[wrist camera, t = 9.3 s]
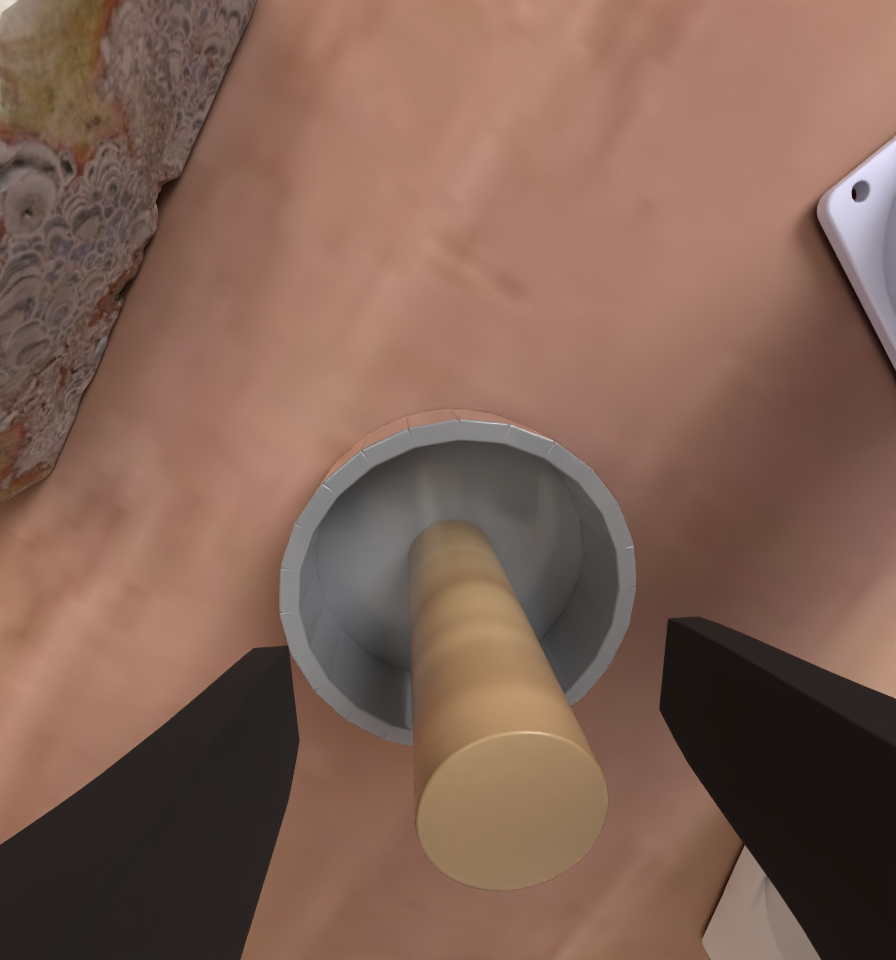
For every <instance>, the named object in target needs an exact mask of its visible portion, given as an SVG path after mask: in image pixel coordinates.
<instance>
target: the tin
mask: <svg viewBox="0 0 896 960" xmlns="http://www.w3.org/2000/svg"><path fill="white" fill-rule="evenodd" d="M445 520H460V521H464V522H468V523H470V524H472V525H474V526H476V527H477V528H479V529H480V530H481V531H482V532H483V533H484V534H485V535H486V536H487V538H488V539H489V541H490V543H491V545H492V547H493V549H494V551H495V553H496V555H497V557H498V560H499V562H500V564H501V566H502V568H503V570H504V572H505V574H506V576H507V578H508V580H509V582H510V584H511V586H512V588H513V590H514V592H515V594H516V596H517V598H518V600H519V602H520V605H521V607H522V609H523V611H524V613H525V615H526V617H527V619H528V621H529V623H530V625H531V627H532V629H533V631H534V633H535V635H536V637H537V639H538V641H539V643H540V645H541V647H542V650H543V652H544V654H545V656H546V658H547V660H548V662H549V664H550V666H551V668H552V670H553V672H554V674H555V676H556V678H557V680H558V682H559V684H560V686H561V688H562V690H563V692H564V694H565V697H566V699H567V701H568V703H569V705H570V707H571V706H573V705H574V704H575V703H577V702H578V701H579V700H581V697H584V696H585V695H586V693H587V692H588V691H589V690H590V689H591V688H592V686H593V685H594V684H595V683H596V682H597V680H598V679H599V678H600V677H601V676H602V674H603V673H604V672H605V671H606V670H607V669H608V667H609V665H610V664H611V662H612V660H613V658H614V656H615V654H616V652H617V650H618V648H619V646H620V644H621V642H622V640H623V638H624V636H625V634H626V632H627V627H628V626H629V622H630V618H631V613H632V608H633V603H634V598H635V593H636V585H637V583H636V569H635V555H634V546H633V541H632V538H631V535H630V533H629V530H628V527H627V524H626V522H625V519H624V516H623V514H622V511H621V508H620V506H619V505H618V502H617V501H616V500H615V498H614V497H613V496H612V494H611V493H610V492H609V490H608V489H607V488H606V486H605V485H604V484H603V482H602V481H601V480H600V478H599V477H598V476H597V474H596V473H595V472H594V470H592V469H591V468H590V466H588V465H587V464H586V463H584V462H583V461H582V460H580V459H579V458H578V457H576V456H575V455H574V454H572V453H571V452H570V451H568V450H567V449H566V448H564V447H563V446H562V445H560V444H559V443H557V442H556V441H554V440H552V439H550V438H548V437H546V436H544V435H542V434H540V433H539V432H537V431H535V430H533V429H531V428H529V427H527V426H524V425H522V424H519V423H516V422H514V421H511V420H509V419H507V418H504V417H500V416H498V415H495V414H493V413H491V414H490V413H488V412H481V411H475V410H468V409H441V410H432V411H425V412H421V413H417V414H413V415H408V416H405V417H403V418H400V419H398V420H395V421H392V422H390V423H387V424H386V425H384V426H382V427H380V428H378V429H377V430H375V431H373V432H371V433H369V434H368V435H366V436H365V437H364V438H363V439H361V440H360V441H359V442H357V443H356V444H354V445H353V446H352V447H351V448H350V449H349V450H348V451H347V452H346V453H345V454H344V455H343V456H342V457H340V458H339V459H338V460H337V462H335V464H334V465H333V467H332V468H331V469H330V471H329V472H328V474H327V475H326V477H325V478H324V480H323V481H322V483H321V484H320V486H319V487H318V488H317V490H316V491H315V493H314V494H313V496H312V497H311V499H310V500H309V502H308V503H307V505H306V506H305V508H304V509H303V511H302V512H301V513H300V515H299V516H298V518H297V519H296V522H295V523H294V525H293V528H292V531H291V534H290V537H289V540H288V543H287V547H286V550H285V553H284V556H283V559H282V562H281V568H280V584H279V611H280V613H279V615H280V619H281V622H282V626H283V629H284V633H285V636H286V640H287V644H288V647H289V651H290V654H292V657H293V659H294V661H295V662H296V664H297V665H298V667H299V669H300V670H301V672H302V673H303V675H304V677H305V678H306V680H307V681H308V683H309V685H310V686H311V688H312V689H313V690H314V691H315V693H316V694H317V695H318V696H319V697H321V698H322V699H323V700H324V701H325V702H326V703H327V704H328V705H329V706H330V707H332V708H333V709H334V710H335V711H336V712H337V713H338V714H339V715H340V716H341V717H343V718H344V719H345V718H346V720H347V721H348V722H350V723H352V724H354V725H356V726H358V727H360V728H362V729H364V730H366V731H368V732H370V733H371V734H373V735H375V736H377V737H379V738H383V739H384V740H387V741H391V742H395V743H399V744H403V745H408V746H412V747H413V723H412V686H411V649H410V612H409V575H408V557H409V552H410V549H411V546H412V544H413V542H414V540H415V539H416V538H417V536H418V535H419V534H420V533H421V532H422V531H423V530H424V529H426V528H427V527H429V526H431V525H433V524H435V523H437V522H441V521H445Z"/></svg>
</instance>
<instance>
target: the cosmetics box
mask: <svg viewBox="0 0 896 960" xmlns="http://www.w3.org/2000/svg"><path fill="white" fill-rule="evenodd" d="M702 944H703V946H704V948H705V950H706V952H707V954H708V955H709V957H710V959H711V960H821V959H820V957H819V956H818V954H817V952H816V951H815V949H814V947H813V946H812V944H811V942H810V940H809V939H808V937H807V935H806V934H805V932H804V931H803V929H802V927H801V926H800V924H799V923H798V921H797V920H796V918H795V917H794V915H793V914H792V912H791V911H790V909H789V908H788V906H787V905H786V903H785V902H784V900H783V899H782V897H781V896H780V894H779V893H778V891H777V890H776V888H775V887H774V886H773V884H772V883H771V881H770V880H769V878H768V877H767V876H766V874H765V873H764V871H763V870H762V868H761V867H760V866H759V864H758V863H757V861H756V860H755V858H754V857H753V856H752V854H751V853H750V851H749V850H748V849H747V847H746V846H744V848H743V850H742V852H741V855H740V857H739V859H738V861H737V863H736V866H735V868H734V870H733V872H732V874H731V877H730V879H729V881H728V883H727V886H726V888H725V890H724V893H723V895H722V898H721V900H720V902H719V904H718V906H717V908H716V910H715V912H714V915H713V917H712V919H711V921H710V923H709V925H708V927H707V930H706V932H705V934H704V936H703V939H702Z"/></svg>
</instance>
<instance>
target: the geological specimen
mask: <svg viewBox="0 0 896 960" xmlns="http://www.w3.org/2000/svg"><path fill="white" fill-rule="evenodd" d="M255 4H256V0H0V503H3V502H5V501H7V500H9V499H11V498H13V497H14V496H16V495H17V494H18V493H20V492H21V491H22V490H23V489H25V488H28V487H30V486H32V485H34V484H35V483H37V482H39V481H41V480H43V479H45V478H46V477H47V476H48V474H49V473H50V472H51V471H52V470H53V468H54V466H55V463H56V461H57V458H58V456H59V454H60V451H61V449H62V447H63V445H64V442H65V440H66V438H67V435H68V433H69V431H70V429H71V426H72V424H73V422H74V419H75V416H76V413H77V410H78V407H79V404H80V401H81V397H82V394H83V391H84V389H85V388H86V387H87V385H88V384H89V383H90V381H91V380H92V379H93V377H94V374H95V372H96V370H97V367H98V365H99V362H100V360H101V358H102V355H103V353H104V350H105V348H106V346H107V340H108V334H109V332H110V331H111V329H112V327H113V325H114V323H115V321H116V319H117V317H118V315H119V313H120V310H121V307H122V304H123V301H124V300H123V298H122V297H121V295H120V293H119V292H121V291H122V290H123V288H124V286H125V284H126V283H127V282H128V281H130V280H131V279H133V278H134V277H135V275H136V273H137V271H138V269H139V267H140V265H141V263H142V261H143V254H144V247H145V246H146V244H147V243H148V242H149V240H150V239H151V238H152V237H153V235H154V233H155V231H156V229H157V227H158V209H157V205H156V202H155V201H156V199H157V197H158V193H159V192H160V191H161V188H162V185H164V184H166V183H168V182H170V181H172V180H174V179H176V178H178V177H179V176H180V175H181V173H182V170H183V168H184V165H185V163H186V161H187V158H188V156H189V153H190V151H191V149H192V146H193V144H194V142H195V139H196V137H197V135H198V133H199V131H200V129H201V127H202V124H203V122H204V120H205V118H206V116H207V113H208V111H209V109H210V107H211V104H212V102H213V100H214V97H215V95H216V93H217V90H218V88H219V86H220V83H221V81H222V79H223V76H224V74H225V72H226V70H227V67H228V65H229V63H230V61H231V58H232V56H233V54H234V52H235V49H236V47H237V45H238V43H239V41H240V39H241V37H242V34H243V32H244V30H245V28H246V26H247V24H248V22H249V20H250V18H251V16H252V13H253V10H254V7H255Z"/></svg>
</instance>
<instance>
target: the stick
mask: <svg viewBox="0 0 896 960" xmlns="http://www.w3.org/2000/svg"><path fill="white" fill-rule="evenodd" d="M408 575H409V612H410V649H411V686H412V723H413V760H414V797H415V825H416V833H417V836H418V839H419V843H420V845H421V847H422V849H423V851H424V853H425V855H426V856H427V857H428V859H429V860H430V861H431V863H432V864H433V865H434V866H435V867H436V868H437V869H438V870H439V871H441V872H442V873H443V874H445V875H446V876H447V877H449V878H451V879H453V880H455V881H456V882H459V883H461V884H464V885H466V886H470V887H474V888H478V889H484V890H497V891H503V890H515V889H521V888H526V887H530V886H534V885H537V884H540V883H542V882H545V881H548V880H550V879H552V878H554V877H556V876H558V875H559V874H561V873H563V872H564V871H566V870H567V869H569V868H570V867H571V866H573V865H574V864H575V863H577V862H578V861H579V860H580V859H581V858H582V857H583V856H584V855H585V854H586V853H587V852H588V850H589V849H590V848H591V847H592V846H593V844H594V843H595V841H596V839H597V838H598V836H599V834H600V832H601V830H602V828H603V826H604V823H605V819H606V816H607V809H608V790H607V784H606V780H605V778H604V775H603V772H602V770H601V768H600V766H599V764H598V762H597V760H596V758H595V756H594V754H593V752H592V750H591V748H590V746H589V744H588V742H587V739H586V737H585V735H584V733H583V731H582V729H581V727H580V725H579V723H578V721H577V719H576V717H575V715H574V713H573V711H572V709H571V707H570V705H569V703H568V701H567V699H566V697H565V694H564V692H563V690H562V688H561V686H560V684H559V682H558V680H557V678H556V676H555V674H554V672H553V670H552V668H551V666H550V664H549V662H548V660H547V658H546V656H545V654H544V652H543V650H542V647H541V645H540V643H539V641H538V639H537V637H536V635H535V633H534V631H533V629H532V627H531V625H530V623H529V621H528V619H527V617H526V615H525V613H524V611H523V609H522V607H521V605H520V602H519V600H518V598H517V596H516V594H515V592H514V590H513V588H512V586H511V584H510V582H509V580H508V578H507V576H506V574H505V572H504V570H503V568H502V566H501V564H500V562H499V560H498V557H497V555H496V553H495V551H494V549H493V547H492V545H491V543H490V541H489V539H488V538H487V536H486V535H485V534H484V533H483V532H482V531H481V530H480V529H479V528H477V527H476V526H474V525H472V524H470V523H468V522H464V521H460V520H445V521H441V522H437V523H435V524H433V525H431V526H429V527H427V528H426V529H424V530H423V531H422V532H421V533H420V534H419V535H418V536H417V538H416V539H415V540H414V542H413V544H412V546H411V549H410V552H409V557H408Z"/></svg>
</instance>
